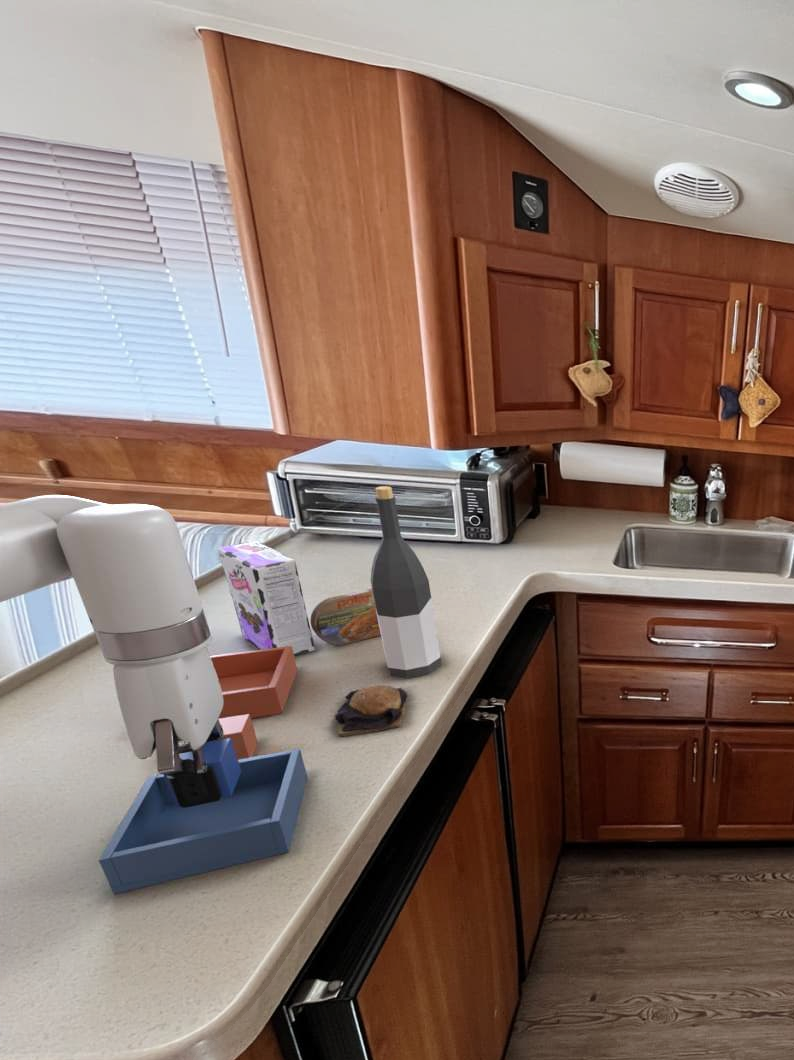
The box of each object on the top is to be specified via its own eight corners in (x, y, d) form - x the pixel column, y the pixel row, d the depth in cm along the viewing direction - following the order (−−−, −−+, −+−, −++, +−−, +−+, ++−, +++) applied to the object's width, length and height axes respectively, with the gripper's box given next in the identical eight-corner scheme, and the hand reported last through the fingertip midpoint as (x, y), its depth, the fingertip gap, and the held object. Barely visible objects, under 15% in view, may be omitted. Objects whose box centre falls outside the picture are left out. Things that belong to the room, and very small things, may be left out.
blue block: (175, 807, 65) (161, 771, 63) (188, 781, 69) (176, 746, 67) (231, 795, 67) (220, 760, 65) (241, 770, 71) (231, 737, 69)
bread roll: (345, 700, 95) (340, 678, 93) (410, 690, 98) (406, 669, 97) (332, 739, 86) (326, 715, 84) (404, 727, 89) (399, 704, 88)
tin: (320, 651, 107) (309, 605, 104) (313, 645, 108) (302, 600, 105) (415, 626, 118) (408, 584, 115) (408, 621, 120) (401, 579, 116)
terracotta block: (204, 770, 78) (193, 740, 76) (213, 750, 82) (204, 720, 80) (250, 761, 80) (241, 732, 79) (258, 742, 84) (249, 713, 82)
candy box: (241, 637, 109) (215, 546, 103) (281, 626, 114) (259, 539, 108) (276, 662, 103) (250, 567, 96) (317, 649, 107) (296, 558, 101)
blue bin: (113, 894, 61) (98, 860, 60) (160, 806, 72) (148, 775, 71) (288, 852, 68) (279, 820, 66) (307, 776, 79) (300, 748, 77)
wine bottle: (395, 656, 107) (362, 481, 96) (447, 654, 109) (421, 482, 98) (378, 679, 100) (341, 493, 89) (435, 677, 102) (405, 494, 91)
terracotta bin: (153, 733, 84) (143, 706, 82) (184, 685, 95) (176, 659, 93) (282, 713, 90) (275, 687, 88) (297, 669, 101) (291, 645, 99)
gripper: (135, 606, 66) (186, 751, 73) (60, 683, 52) (131, 852, 59) (228, 597, 69) (268, 737, 76) (180, 667, 56) (235, 829, 63)
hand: (208, 785), depth 68 cm, fingers closed on blue block, 4 cm apart
